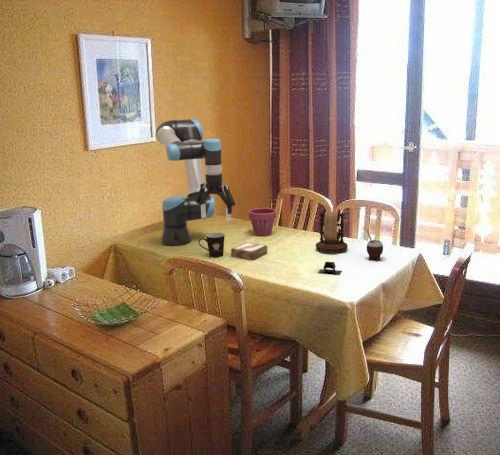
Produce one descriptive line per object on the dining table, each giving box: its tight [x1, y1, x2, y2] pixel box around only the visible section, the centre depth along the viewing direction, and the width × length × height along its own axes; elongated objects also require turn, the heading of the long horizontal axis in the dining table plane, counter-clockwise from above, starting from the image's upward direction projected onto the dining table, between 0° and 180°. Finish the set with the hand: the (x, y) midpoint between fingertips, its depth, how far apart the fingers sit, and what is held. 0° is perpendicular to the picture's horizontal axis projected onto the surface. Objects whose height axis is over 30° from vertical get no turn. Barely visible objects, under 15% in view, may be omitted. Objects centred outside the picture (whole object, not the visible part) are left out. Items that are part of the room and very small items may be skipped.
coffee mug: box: [198, 232, 226, 258], centre depth 236 cm, size 12×9×10 cm
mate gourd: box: [362, 226, 384, 262], centre depth 222 cm, size 8×8×15 cm
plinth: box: [230, 242, 268, 262], centre depth 235 cm, size 12×12×4 cm
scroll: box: [315, 208, 348, 254], centre depth 237 cm, size 15×15×20 cm
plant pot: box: [248, 207, 277, 237], centre depth 269 cm, size 14×14×13 cm
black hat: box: [317, 261, 343, 276], centre depth 210 cm, size 12×7×5 cm, turn 70°
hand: (216, 219), depth 234 cm, fingers open, 13 cm apart
